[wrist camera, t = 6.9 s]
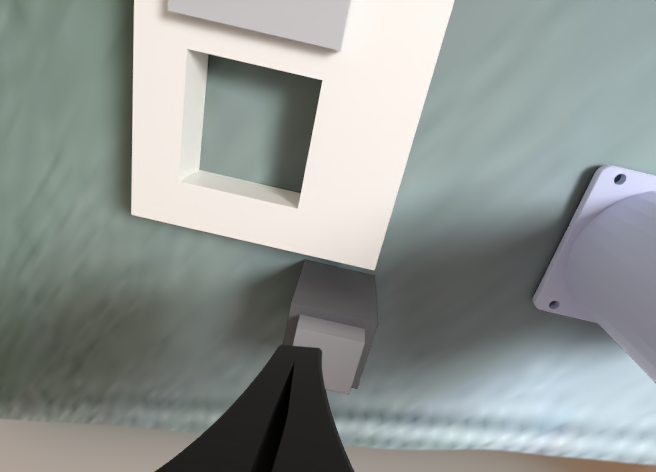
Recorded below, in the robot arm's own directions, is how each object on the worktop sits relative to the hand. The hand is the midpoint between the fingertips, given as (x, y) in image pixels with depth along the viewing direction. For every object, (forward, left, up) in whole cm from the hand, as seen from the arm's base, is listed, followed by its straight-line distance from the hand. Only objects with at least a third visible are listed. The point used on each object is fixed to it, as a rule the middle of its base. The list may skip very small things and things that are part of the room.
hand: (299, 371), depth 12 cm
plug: (-1, +3, -10) cm, 10 cm away
